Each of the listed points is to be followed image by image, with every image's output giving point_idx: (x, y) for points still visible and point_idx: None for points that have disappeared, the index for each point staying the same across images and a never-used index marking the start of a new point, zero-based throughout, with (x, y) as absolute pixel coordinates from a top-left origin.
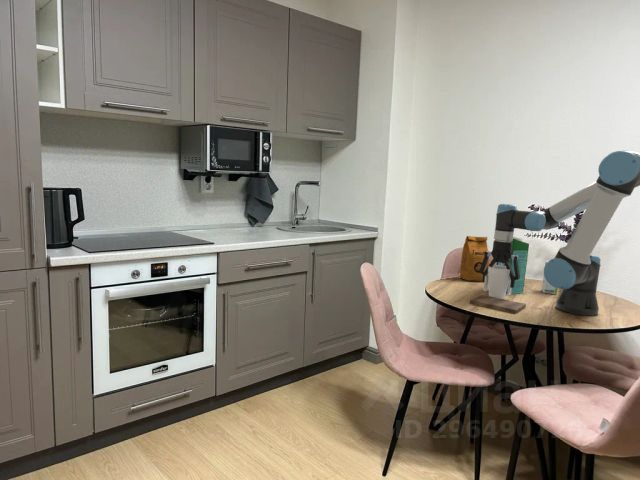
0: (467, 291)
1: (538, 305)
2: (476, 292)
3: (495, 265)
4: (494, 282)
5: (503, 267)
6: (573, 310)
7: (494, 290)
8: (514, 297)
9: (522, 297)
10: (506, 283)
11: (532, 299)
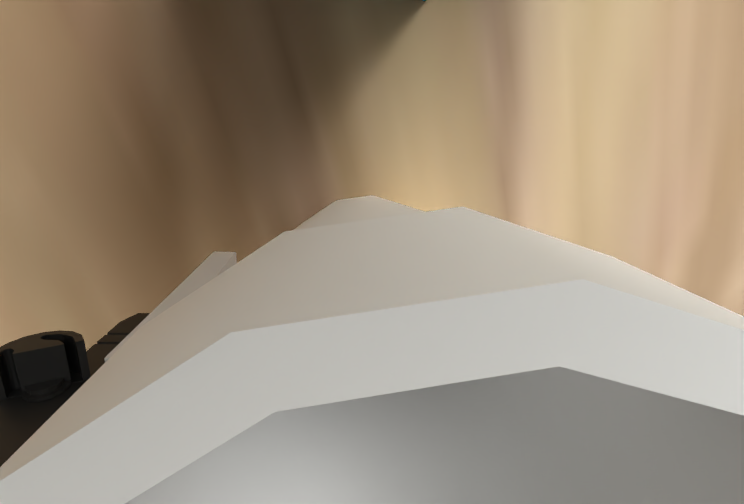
0: (39, 271)
1: (733, 261)
2: (127, 233)
3: (69, 501)
4: (363, 497)
5: (532, 337)
6: None
7: (364, 399)
8: (519, 114)
9: (598, 29)
10: (522, 410)
11: (701, 38)
